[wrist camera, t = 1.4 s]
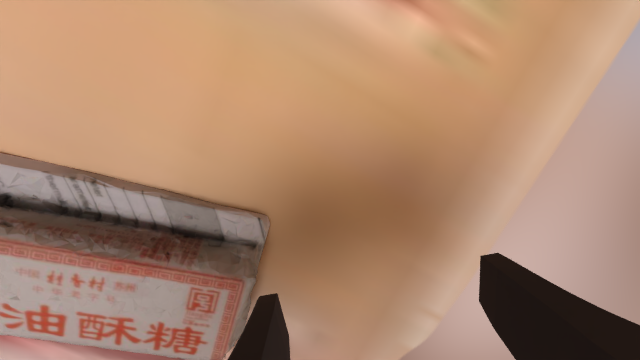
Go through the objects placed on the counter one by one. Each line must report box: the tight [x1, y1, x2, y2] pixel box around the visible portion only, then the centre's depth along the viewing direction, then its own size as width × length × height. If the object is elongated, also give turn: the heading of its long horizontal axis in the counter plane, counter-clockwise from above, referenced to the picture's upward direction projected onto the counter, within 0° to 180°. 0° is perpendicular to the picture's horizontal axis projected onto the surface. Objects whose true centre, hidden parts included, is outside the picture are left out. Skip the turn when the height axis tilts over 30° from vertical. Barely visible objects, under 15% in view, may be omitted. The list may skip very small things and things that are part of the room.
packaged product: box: [0, 153, 270, 360], centre depth 18 cm, size 18×5×10 cm
